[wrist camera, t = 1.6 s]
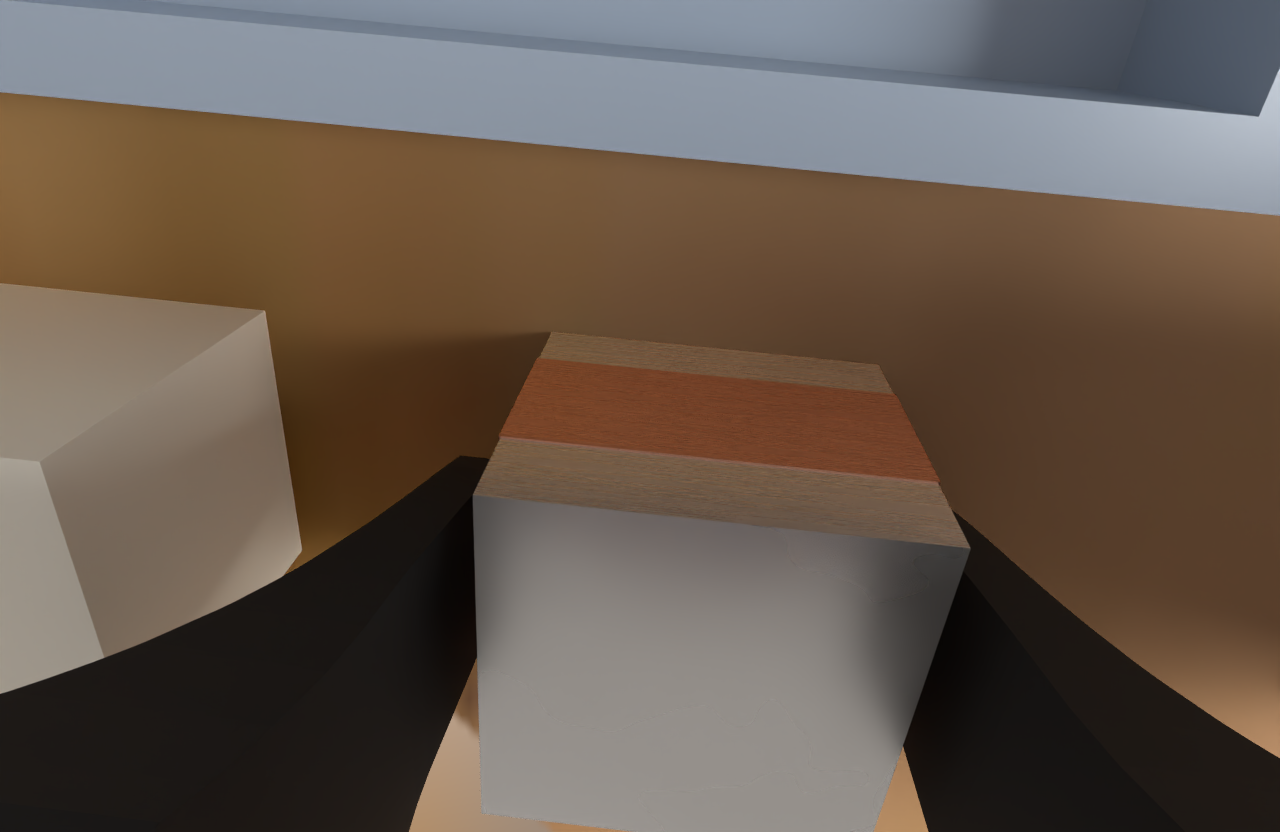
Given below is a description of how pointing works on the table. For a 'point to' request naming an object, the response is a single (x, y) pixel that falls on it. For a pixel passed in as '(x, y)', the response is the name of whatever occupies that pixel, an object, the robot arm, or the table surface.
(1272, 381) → the table surface
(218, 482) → the white cube
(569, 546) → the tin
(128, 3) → the tote
